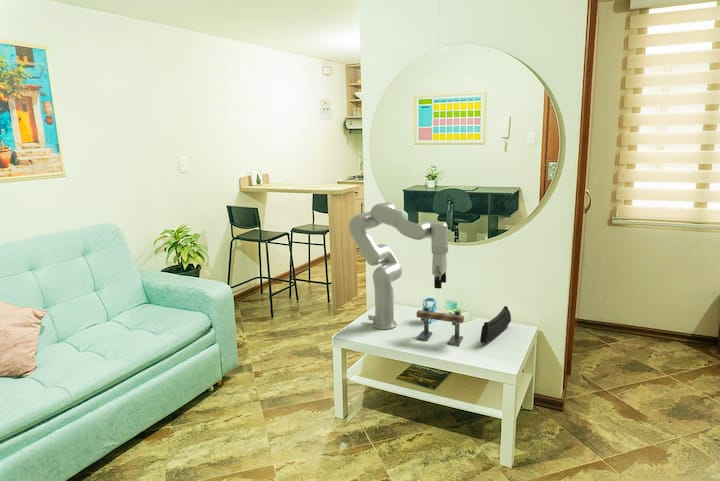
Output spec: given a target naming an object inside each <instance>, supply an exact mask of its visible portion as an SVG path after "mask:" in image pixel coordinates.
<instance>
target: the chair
mask: <svg viewBox="0 0 720 481" xmlns="http://www.w3.org/2000/svg"><path fill="white" fill-rule="evenodd" d="M428 302H432V305H428ZM437 302H438V300H436V299H435V298H433V297H426V298H424V299H423V300H422V309H421V311H424V308H425V307H429V312H436V311H437V309H438V306H436V304H437ZM436 321H437V320H434V319H429V325H431V324H433V323H434V322H436ZM432 322H433V323H432Z"/></svg>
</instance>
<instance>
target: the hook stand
mask: <svg viewBox="0 0 720 481" xmlns="http://www.w3.org/2000/svg"><path fill="white" fill-rule="evenodd" d="M424 311H429V307H425V308H424ZM454 315H461V311H460V310H454ZM429 321H430V319H427V318H425V316H422V315H421V318H420V322H423V323H424V324H423V326H424V327H423V330H422V331H421V332H420V333H419V335H418V336H417V338H416V339H417V340H418V341H425V342H428V341H429V340H430V338H431V337H432V335H433V332H432V331H430V330H429V329H430V326H429V325H430V324H429ZM460 324H461V323H457V320H452V323H451V325H452V326H454V334H452V335H451V337H450V339H449V340H448V342H447V343H448V345H451V346H456V347H457V346H458V347H459V346H460V345H461V343H462V342H463V340H464V336H462V335H460V328H461V325H460Z"/></svg>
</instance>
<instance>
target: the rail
mask: <svg viewBox="0 0 720 481" xmlns="http://www.w3.org/2000/svg"><path fill="white" fill-rule="evenodd" d="M421 315H422V316H425V318H427V319H429V320H430V319H432V320H433V319H434V320H436V321H443V322H452V320H457V323H460V324H463V323H464V322H465V316H464V315H461V314H460V315H455V314H451V313H445V312H443V313H442V312H436V311H435V312H429V311H422V309H421V310H419V309H418V310H417V311H416V318H420V319H421Z"/></svg>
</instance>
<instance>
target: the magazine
mask: <svg viewBox="0 0 720 481" xmlns="http://www.w3.org/2000/svg"><path fill="white" fill-rule="evenodd" d="M511 316H512V314H511V312H510V310H509V307H508V306H505V305H504V306H503V308H502V309H501V311H500V312H499V313H498V314H497V315H496V316H495V317H494V318H492V319H490V320H489V321H485V322H483V325H482V327H481V333H480V339H479V343H482V344H488V343H489V342H491V341H493V340H495V339H496V338H497V337H499V336H500V335H501V334H502V333H503V332H504V331H505V329H506V328H507V327H508V325H509V324H510V323H511V322H512V317H511Z"/></svg>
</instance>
